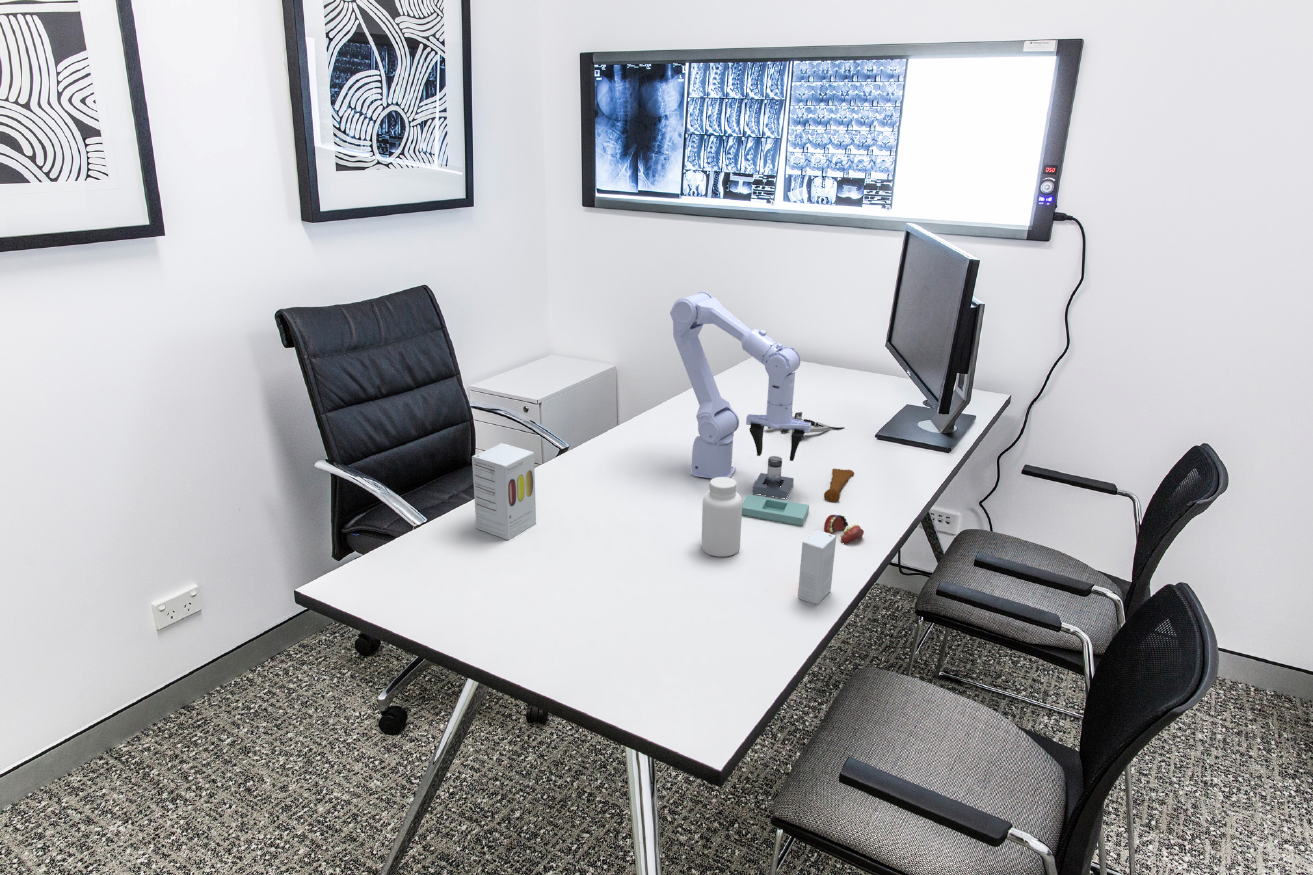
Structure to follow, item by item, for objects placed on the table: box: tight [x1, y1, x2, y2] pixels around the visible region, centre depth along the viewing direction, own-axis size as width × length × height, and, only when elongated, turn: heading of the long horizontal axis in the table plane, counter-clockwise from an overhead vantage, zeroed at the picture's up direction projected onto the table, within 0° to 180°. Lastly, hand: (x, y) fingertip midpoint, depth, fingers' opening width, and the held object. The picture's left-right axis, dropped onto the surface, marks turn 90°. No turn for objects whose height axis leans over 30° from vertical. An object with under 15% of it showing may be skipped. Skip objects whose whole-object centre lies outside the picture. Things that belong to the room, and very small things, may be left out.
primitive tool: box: [823, 468, 855, 503], centre depth 202 cm, size 19×6×4 cm, turn 162°
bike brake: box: [767, 411, 845, 434], centre depth 235 cm, size 14×7×20 cm
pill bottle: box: [701, 477, 743, 558], centre depth 171 cm, size 8×8×15 cm
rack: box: [742, 493, 810, 527], centre depth 188 cm, size 14×7×2 cm, turn 70°
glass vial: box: [766, 455, 783, 487], centre depth 198 cm, size 3×3×8 cm
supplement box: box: [471, 442, 537, 541], centre depth 177 cm, size 10×9×17 cm
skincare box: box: [797, 529, 837, 605], centre depth 156 cm, size 6×4×12 cm
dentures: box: [823, 514, 865, 545], centre depth 179 cm, size 6×4×8 cm
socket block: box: [751, 472, 795, 500], centre depth 199 cm, size 8×8×2 cm
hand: (775, 456), depth 196 cm, fingers open, 7 cm apart
